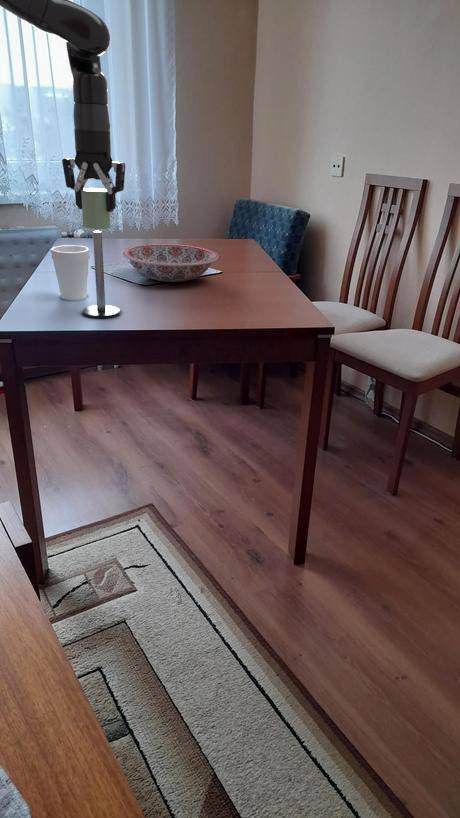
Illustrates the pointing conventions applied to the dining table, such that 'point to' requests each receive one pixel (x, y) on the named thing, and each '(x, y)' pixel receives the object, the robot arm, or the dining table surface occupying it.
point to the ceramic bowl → (170, 261)
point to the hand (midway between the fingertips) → (96, 209)
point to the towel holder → (100, 285)
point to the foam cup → (71, 270)
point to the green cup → (95, 208)
